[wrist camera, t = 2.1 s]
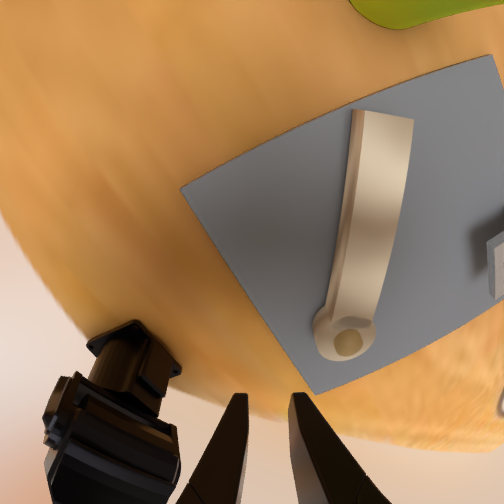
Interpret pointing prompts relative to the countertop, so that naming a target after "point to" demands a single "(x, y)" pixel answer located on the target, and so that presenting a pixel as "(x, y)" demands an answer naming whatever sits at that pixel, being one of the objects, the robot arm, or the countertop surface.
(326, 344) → the link
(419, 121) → the board
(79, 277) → the countertop surface
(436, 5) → the soap dispenser
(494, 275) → the block
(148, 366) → the robot arm
